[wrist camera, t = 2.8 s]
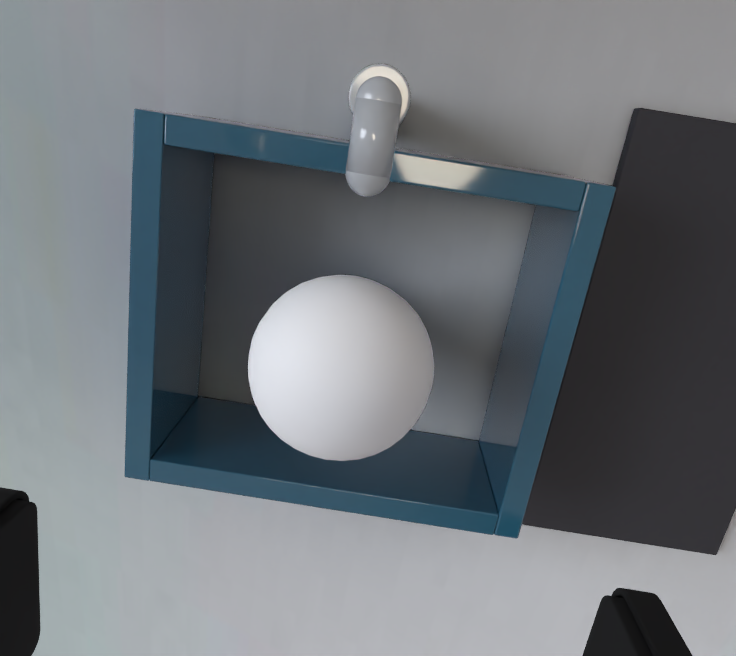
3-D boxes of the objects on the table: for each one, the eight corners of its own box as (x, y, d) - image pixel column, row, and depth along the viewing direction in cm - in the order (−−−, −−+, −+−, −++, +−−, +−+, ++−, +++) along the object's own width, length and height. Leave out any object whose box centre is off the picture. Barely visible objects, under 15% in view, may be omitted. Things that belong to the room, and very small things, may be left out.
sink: (177, 410, 29) (62, 555, 19) (196, 61, 24) (54, 6, 14) (494, 461, 29) (546, 631, 19) (579, 123, 24) (711, 113, 14)
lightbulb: (443, 334, 27) (474, 457, 17) (325, 382, 28) (286, 526, 18) (390, 213, 26) (387, 266, 15) (267, 269, 27) (185, 355, 16)
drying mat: (519, 517, 30) (522, 524, 30) (633, 108, 24) (639, 107, 23) (710, 547, 30) (716, 555, 30) (874, 147, 24) (885, 147, 23)
